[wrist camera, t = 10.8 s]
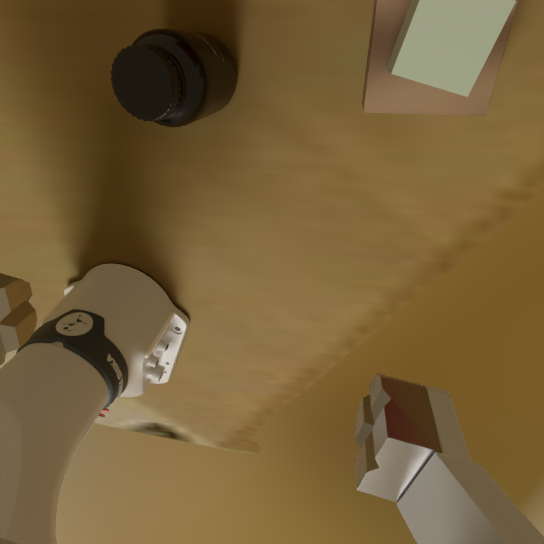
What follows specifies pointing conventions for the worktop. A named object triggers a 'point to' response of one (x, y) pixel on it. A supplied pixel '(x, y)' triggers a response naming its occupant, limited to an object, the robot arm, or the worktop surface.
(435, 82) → the sage block
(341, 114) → the worktop surface
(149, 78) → the supplement bottle
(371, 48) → the pinkish brown block
